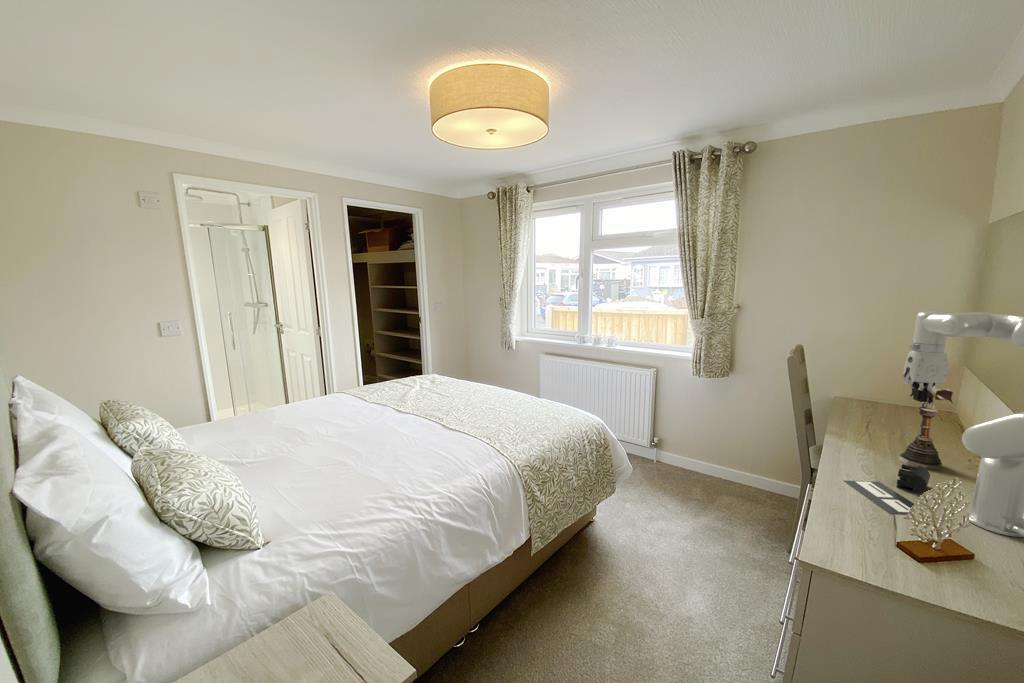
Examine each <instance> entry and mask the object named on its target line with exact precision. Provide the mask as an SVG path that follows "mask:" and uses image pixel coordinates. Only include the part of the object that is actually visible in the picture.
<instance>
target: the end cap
mask: <svg viewBox="0 0 1024 683" xmlns="http://www.w3.org/2000/svg"><path fill="white" fill-rule="evenodd" d="M897 477H899V478H898V479H897V480H896V488H897V489H900V490H903V491H907V492H911V493H915V494H916V493H920V492H923V491H925V490H926V489H927V487H928V484H929V482H930V479H931V474H930V472H929V470H928V469H925V468H923V467H921V466H919V467H915V466H911V465H908V464H905V463H901V466H900V468H899V470H898V471H897Z"/></svg>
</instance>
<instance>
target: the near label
mask: <svg viewBox="0 0 1024 683" xmlns="http://www.w3.org/2000/svg"><path fill="white" fill-rule="evenodd" d="M881 500H882V501H884V502H885V503H887V504H888V505H890V506H891V507H893V508H894V509H896V510H897V511H899V512H909V510H910V509H911V508H909V507H908V506H906V505H905V504H903V503H902V502H900V501H898V500H888V499H881Z"/></svg>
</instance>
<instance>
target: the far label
mask: <svg viewBox="0 0 1024 683" xmlns="http://www.w3.org/2000/svg"><path fill="white" fill-rule="evenodd" d="M854 481H855V482H856V483H858V484H859V485H861V486H862V487H864V488H865V489H866V490H868V491H869V492H871V493H872V494H874V495H875V496H877V497H891V498H894V497H892V496H891V495H889V494H888V493H886V492H885V491H883V490H882V489H880V488H879V487H877V486H876V485H874V484H872V483H871V482H872V481H871V482H858V481H859V480H854Z"/></svg>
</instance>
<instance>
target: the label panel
mask: <svg viewBox="0 0 1024 683" xmlns="http://www.w3.org/2000/svg"><path fill="white" fill-rule="evenodd" d="M855 481H856V480H843V482H844V483H846V484H847V485H849V486H851V488H853V489H854V490H856V491H857V492H858V493H860V494H862V496H864V497H866V498H867V499H868V500H869V501H871V502H873V504H876V506H878V507H879V508H881V509H882V510H884V511H885V512H886V513H887V514H890V515H891V514H892V515H893V514H894V515H909V514H908V513H909V512H899V511H897V510H896V509H894V508H893V507H891V506H890V505H888V504H887V503H885V502H884V501H882V500H881V499H888V500H898V501H900V502H902V503H903V504H905V505H906V506H908V507H909V508H911V507H912V506H913V505H914V504H915V503H914V502H912V501H911V500H909V499H908V498H906V497H904V496H903V495H902V494H900V493H898V492H897V491H895V490H894V489H891V488H890V487H888V486H887V485H885V484H884V483H882V482H881V481H870V480H869V481H865V480H864V481H863V480H857V481H858V482H871V483H872V484H874V485H876V486H877V487H879V488H880V489H882V490H883V491H885V492H886V493H888V494H889V495H891V496H892V497H894V498H891V497H877V496H875V495H874V494H872V493H871V492H869V491H868V490H866V489H865V488H864V487H862V486H861V485H859V484H858V483H856V482H855Z"/></svg>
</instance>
